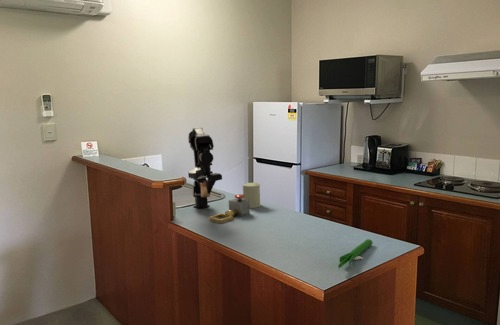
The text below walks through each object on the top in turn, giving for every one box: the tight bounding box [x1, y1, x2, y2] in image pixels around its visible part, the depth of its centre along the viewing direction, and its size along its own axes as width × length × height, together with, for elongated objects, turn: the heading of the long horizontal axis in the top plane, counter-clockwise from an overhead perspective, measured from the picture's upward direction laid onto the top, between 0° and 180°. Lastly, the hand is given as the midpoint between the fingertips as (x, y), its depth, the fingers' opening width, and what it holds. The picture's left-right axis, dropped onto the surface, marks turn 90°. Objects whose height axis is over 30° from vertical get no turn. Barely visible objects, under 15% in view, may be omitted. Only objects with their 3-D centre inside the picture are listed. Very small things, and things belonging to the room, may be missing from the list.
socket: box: [208, 213, 234, 224], centre depth 192 cm, size 8×8×2 cm
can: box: [242, 182, 261, 209], centre depth 216 cm, size 9×9×12 cm
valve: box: [224, 193, 251, 218], centre depth 199 cm, size 8×12×9 cm
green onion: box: [338, 238, 373, 269], centre depth 141 cm, size 5×3×30 cm
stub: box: [200, 181, 211, 198], centre depth 197 cm, size 5×5×7 cm
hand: (205, 193), depth 197 cm, fingers closed on stub, 4 cm apart
